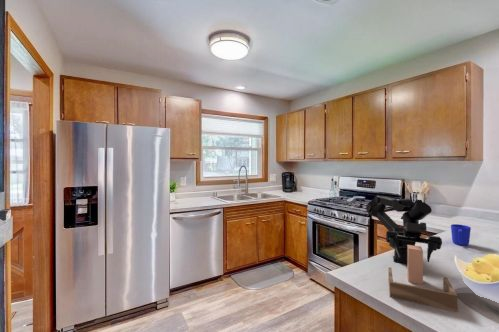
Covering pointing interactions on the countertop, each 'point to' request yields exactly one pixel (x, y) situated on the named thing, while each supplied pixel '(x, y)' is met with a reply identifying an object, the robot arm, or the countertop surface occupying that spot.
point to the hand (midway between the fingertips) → (413, 259)
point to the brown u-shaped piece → (425, 294)
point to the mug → (460, 234)
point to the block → (415, 264)
